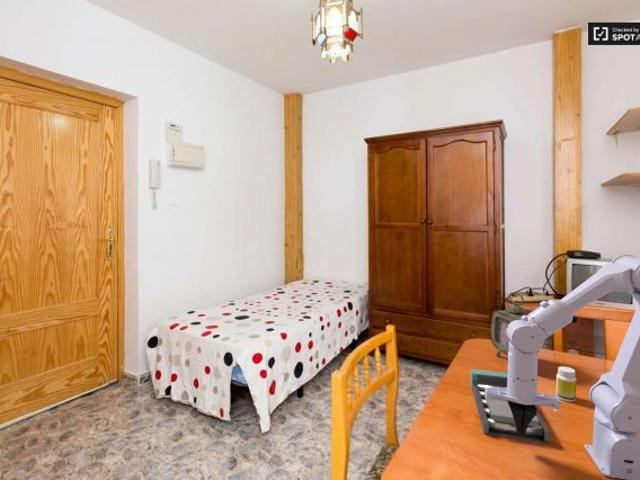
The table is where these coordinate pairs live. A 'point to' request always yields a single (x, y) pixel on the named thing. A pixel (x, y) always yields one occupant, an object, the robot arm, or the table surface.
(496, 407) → the slab
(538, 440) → the roller bed
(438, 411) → the table surface
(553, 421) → the table surface
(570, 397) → the supplement bottle
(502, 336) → the tabletop clock
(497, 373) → the end stop
